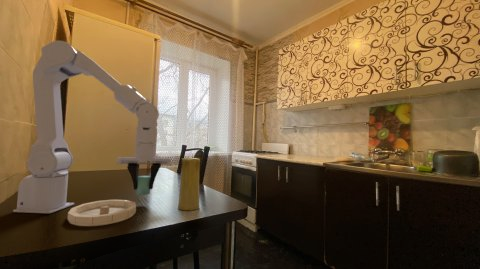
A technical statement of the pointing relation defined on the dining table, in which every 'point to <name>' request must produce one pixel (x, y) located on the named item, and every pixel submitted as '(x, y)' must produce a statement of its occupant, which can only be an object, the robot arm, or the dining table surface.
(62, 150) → the robot arm
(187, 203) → the vase
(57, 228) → the dining table surface
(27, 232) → the dining table surface
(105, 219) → the ring tray
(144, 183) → the teal green block
